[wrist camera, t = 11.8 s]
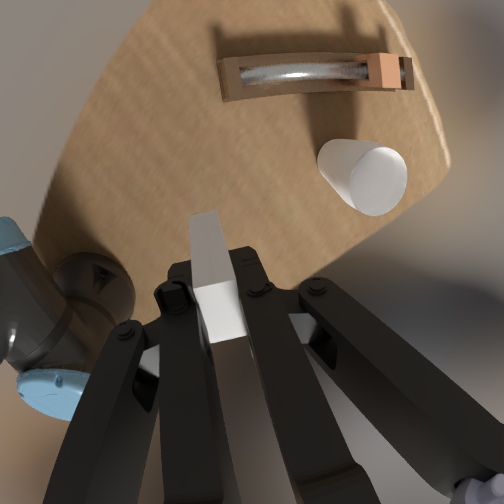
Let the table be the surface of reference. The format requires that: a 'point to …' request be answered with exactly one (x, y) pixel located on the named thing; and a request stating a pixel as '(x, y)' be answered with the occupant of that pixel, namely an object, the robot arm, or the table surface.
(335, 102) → the table surface
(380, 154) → the cup
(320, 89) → the wooden rod stand
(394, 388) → the robot arm
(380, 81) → the tan block
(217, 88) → the table surface
